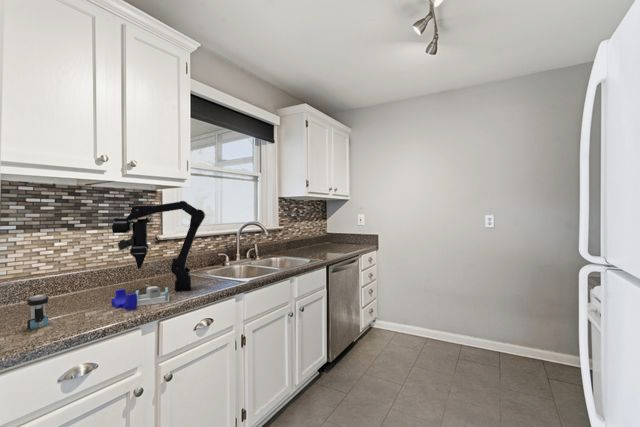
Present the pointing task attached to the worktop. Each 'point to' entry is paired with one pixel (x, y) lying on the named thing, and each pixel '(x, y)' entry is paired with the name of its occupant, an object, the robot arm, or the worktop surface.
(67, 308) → the worktop surface
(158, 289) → the usb wall charger
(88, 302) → the worktop surface
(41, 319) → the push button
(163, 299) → the end holder
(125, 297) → the cable clip
